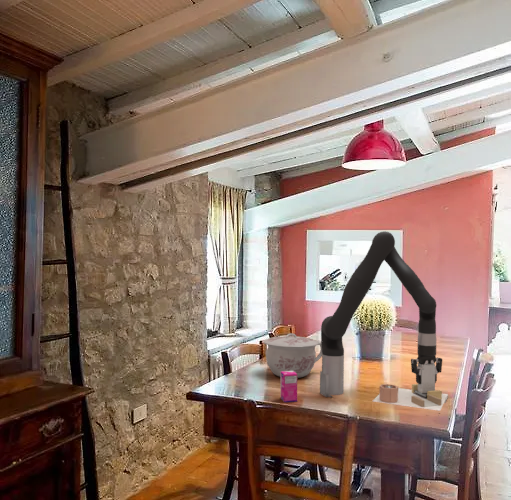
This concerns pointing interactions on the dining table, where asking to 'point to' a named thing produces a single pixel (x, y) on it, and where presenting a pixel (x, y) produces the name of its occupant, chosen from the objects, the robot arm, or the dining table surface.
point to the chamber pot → (291, 354)
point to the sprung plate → (421, 393)
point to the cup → (388, 393)
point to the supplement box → (288, 386)
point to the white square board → (418, 399)
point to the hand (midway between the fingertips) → (426, 383)
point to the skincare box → (427, 378)
